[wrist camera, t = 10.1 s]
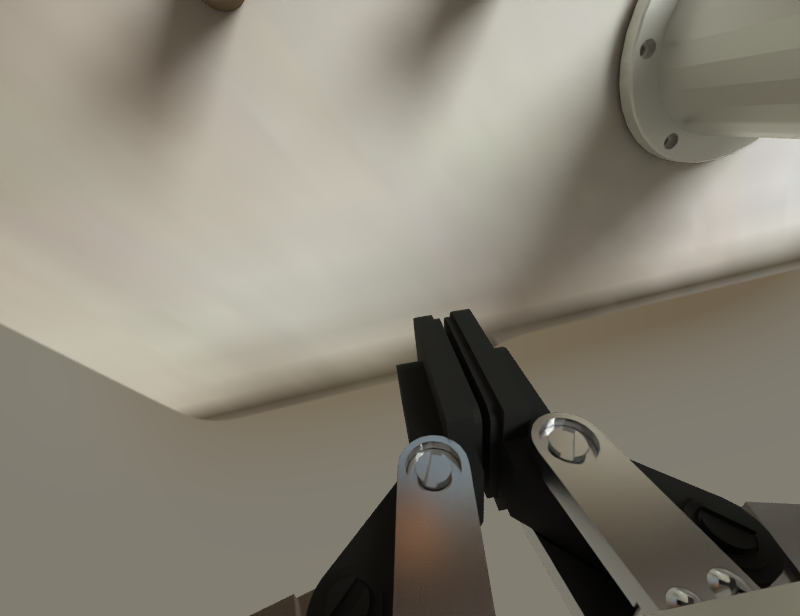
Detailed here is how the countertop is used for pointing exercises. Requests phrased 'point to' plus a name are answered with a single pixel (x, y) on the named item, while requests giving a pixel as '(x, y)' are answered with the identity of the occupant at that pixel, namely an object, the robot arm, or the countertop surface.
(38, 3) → the countertop surface
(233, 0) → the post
